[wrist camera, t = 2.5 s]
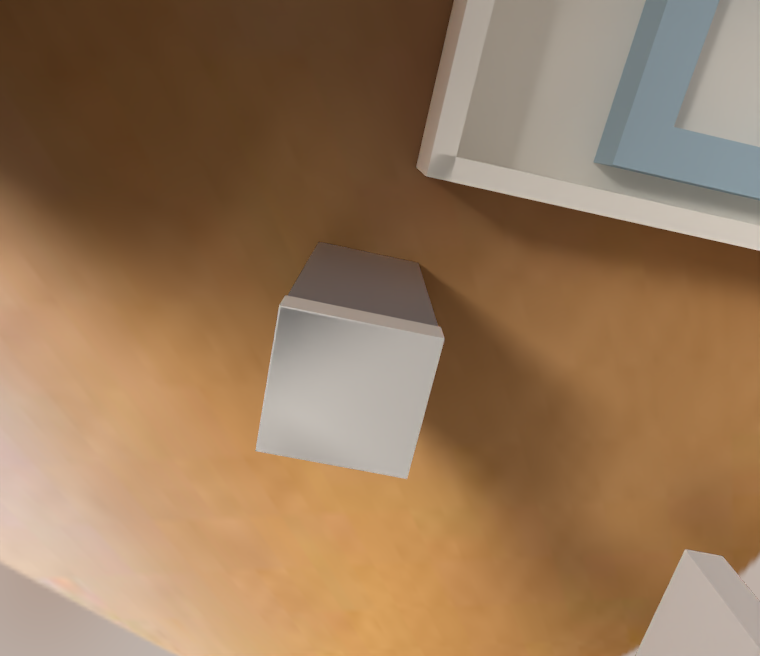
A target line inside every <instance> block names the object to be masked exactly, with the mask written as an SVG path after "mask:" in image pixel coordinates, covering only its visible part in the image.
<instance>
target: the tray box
mask: <svg viewBox="0 0 760 656" xmlns="http://www.w3.org/2000/svg"><path fill="white" fill-rule="evenodd" d="M416 168H417V169H418V170H419V171H421V172H422V173H423V174H424V175H425V176H427V177H432V178H436V179H441V180H445V181H450V182H454V183H459V184H463V185H468V186H472V187H476V188H481V189H485V190H490V191H494V192H499V193H503V194H508V195H512V196H517V197H521V198H526V199H530V200H535V201H539V202H544V203H548V204H553V205H557V206H562V207H566V208H571V209H575V210H579V211H584V212H588V213H593V214H597V215H602V216H606V217H611V218H615V219H620V220H624V221H629V222H633V223H638V224H642V225H647V226H651V227H656V228H660V229H665V230H669V231H673V232H678V233H682V234H687V235H691V236H696V237H700V238H705V239H709V240H714V241H718V242H723V243H727V244H732V245H736V246H741V247H745V248H750V249H754V250H759V251H760V0H454V2H453V6H452V11H451V15H450V19H449V24H448V28H447V33H446V37H445V41H444V46H443V50H442V55H441V59H440V64H439V68H438V72H437V77H436V81H435V86H434V90H433V94H432V99H431V103H430V108H429V112H428V116H427V121H426V125H425V130H424V134H423V138H422V143H421V147H420V152H419V156H418V161H417V165H416Z"/></svg>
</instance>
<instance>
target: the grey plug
mask: <svg viewBox="0 0 760 656" xmlns="http://www.w3.org/2000/svg"><path fill="white" fill-rule="evenodd" d="M444 339H445V338H444V335H443V332H442V329H441V327H439V326H438V324H437V321H436V318H435V314H434V311H433V308H432V305H431V302H430V298H429V295H428V292H427V289H426V286H425V282H424V279H423V276H422V273H421V270H420V266H419V263H417V262H412V261H408V260H403V259H398V258H393V257H389V256H384V255H379V254H375V253H370V252H365V251H360V250H356V249H351V248H346V247H342V246H337V245H332V244H327V243H323V242H318V244H317V246H316V247H315V249H314V251H313V253H312V254H311V256H310V258H309V259H308V261H307V263H306V265H305V266H304V268H303V270H302V272H301V273H300V275H299V277H298V278H297V280H296V282H295V284H294V285H293V287H292V289H291V291H290V292H289V294H288V296H287V295H285V296H284V298H283V300H282V301H281V303H280V305H279V310H278V316H277V322H276V329H275V335H274V341H273V347H272V353H271V359H270V365H269V371H268V378H267V384H266V390H265V396H264V402H263V408H262V414H261V421H260V427H259V433H258V439H257V445H256V451H258V452H264V453H269V454H275V455H280V456H285V457H291V458H296V459H302V460H307V461H313V462H318V463H323V464H329V465H334V466H340V467H345V468H351V469H356V470H361V471H367V472H372V473H378V474H383V475H389V476H394V477H399V478H405V479H407V477H408V474H409V470H410V466H411V462H412V459H413V455H414V451H415V447H416V444H417V440H418V436H419V433H420V429H421V425H422V421H423V418H424V414H425V410H426V406H427V403H428V399H429V395H430V392H431V388H432V384H433V380H434V377H435V373H436V369H437V365H438V362H439V358H440V354H441V351H442V347H443V343H444Z"/></svg>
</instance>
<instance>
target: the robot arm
mask: <svg viewBox="0 0 760 656" xmlns="http://www.w3.org/2000/svg"><path fill="white" fill-rule="evenodd" d="M635 656H760V601H759V600H758V598H757V597H756V596H755V595H754V594H753V592H752V591H751V590H750V589H749V588H748V586H747V585H746V584H745V583H744V581H743V580H742V579H741V578H740V577H739V575H738V574H737V573H736V572H735V570H734V569H733V568H732V567H731V566H730V564H729V563H728V562H727V561H726V560H725V558H724V557H723V556H720V555H714V554H709V553H704V552H698V551H693V550H687V549H685V550H684V553H683V555H682V557H681V559H680V561H679V563H678V565H677V568H676V570H675V572H674V574H673V576H672V578H671V580H670V582H669V585H668V587H667V589H666V591H665V593H664V595H663V597H662V599H661V602H660V604H659V606H658V608H657V610H656V612H655V614H654V616H653V619H652V621H651V623H650V625H649V627H648V629H647V631H646V633H645V636H644V638H643V640H642V642H641V644H640V646H639V648H638V651H637V653H636V655H635Z"/></svg>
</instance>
